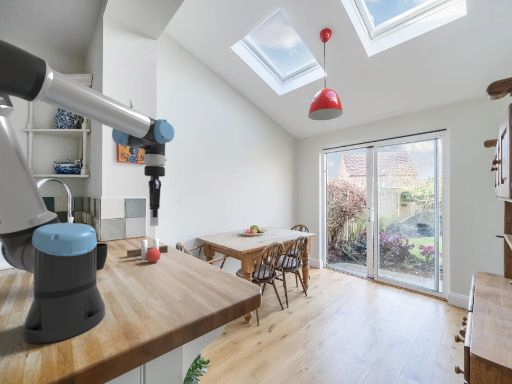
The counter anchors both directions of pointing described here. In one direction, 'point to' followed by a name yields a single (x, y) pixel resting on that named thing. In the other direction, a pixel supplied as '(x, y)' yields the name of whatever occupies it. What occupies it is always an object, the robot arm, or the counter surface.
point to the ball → (153, 255)
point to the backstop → (138, 251)
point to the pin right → (156, 243)
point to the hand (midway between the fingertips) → (154, 225)
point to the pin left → (144, 249)
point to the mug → (101, 255)
